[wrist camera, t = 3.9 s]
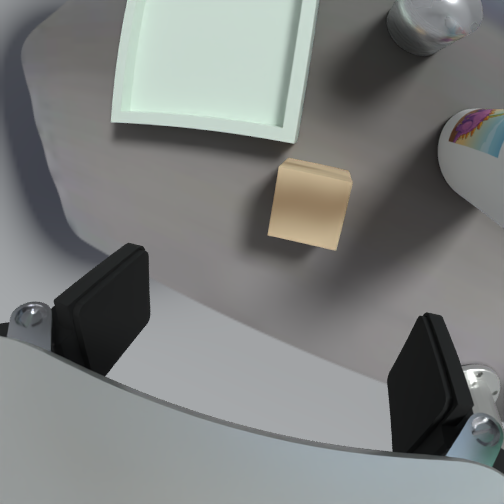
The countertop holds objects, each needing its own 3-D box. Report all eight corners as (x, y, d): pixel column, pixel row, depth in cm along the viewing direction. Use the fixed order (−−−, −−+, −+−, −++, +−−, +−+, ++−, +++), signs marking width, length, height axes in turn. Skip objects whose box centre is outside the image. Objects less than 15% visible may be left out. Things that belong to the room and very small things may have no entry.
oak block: (335, 227, 27) (336, 250, 22) (278, 214, 28) (267, 235, 23) (348, 170, 25) (352, 182, 20) (288, 157, 26) (278, 166, 21)
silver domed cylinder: (441, 64, 19) (481, 47, 12) (383, 45, 20) (404, 18, 13) (445, 13, 17) (482, -17, 10) (389, -6, 18) (408, -46, 10)
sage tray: (297, 141, 25) (294, 143, 22) (126, 120, 27) (111, 122, 25) (323, -33, 18) (322, -46, 15) (150, -31, 20) (136, -39, 18)
